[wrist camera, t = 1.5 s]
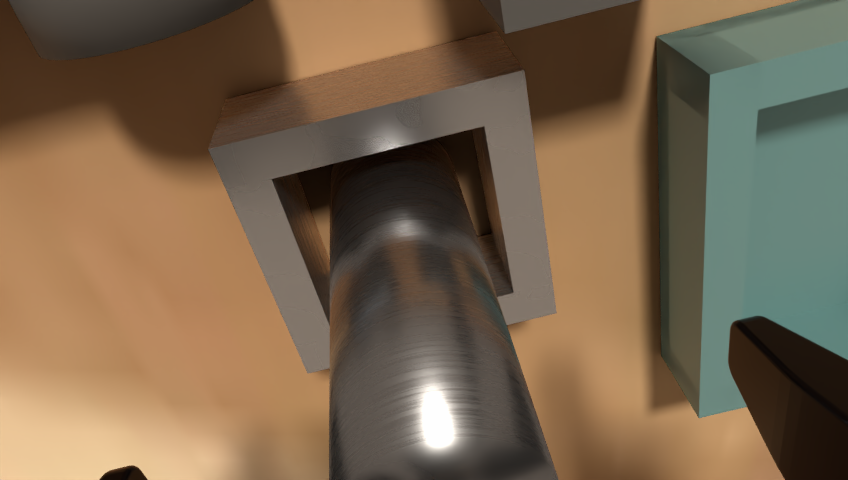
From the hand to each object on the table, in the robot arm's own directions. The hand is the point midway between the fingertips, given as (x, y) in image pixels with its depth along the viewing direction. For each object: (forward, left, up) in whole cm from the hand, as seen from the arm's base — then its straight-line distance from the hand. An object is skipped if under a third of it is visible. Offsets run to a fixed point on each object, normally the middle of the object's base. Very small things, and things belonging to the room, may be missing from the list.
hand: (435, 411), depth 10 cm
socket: (0, 0, -7) cm, 7 cm away
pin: (0, 0, -7) cm, 7 cm away
